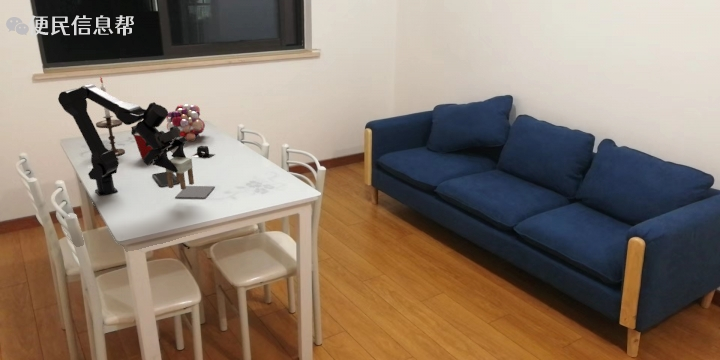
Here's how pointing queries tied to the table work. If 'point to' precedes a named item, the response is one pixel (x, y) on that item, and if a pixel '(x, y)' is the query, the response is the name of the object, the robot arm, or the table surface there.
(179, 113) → the ornament
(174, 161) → the stool
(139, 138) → the plastic cup
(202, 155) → the black brimmed piece
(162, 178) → the phone
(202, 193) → the mat
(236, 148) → the table surface
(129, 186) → the table surface
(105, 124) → the candlestick
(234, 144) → the table surface
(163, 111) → the robot arm
